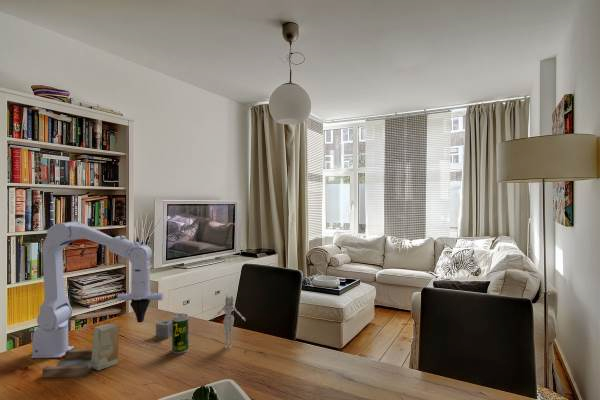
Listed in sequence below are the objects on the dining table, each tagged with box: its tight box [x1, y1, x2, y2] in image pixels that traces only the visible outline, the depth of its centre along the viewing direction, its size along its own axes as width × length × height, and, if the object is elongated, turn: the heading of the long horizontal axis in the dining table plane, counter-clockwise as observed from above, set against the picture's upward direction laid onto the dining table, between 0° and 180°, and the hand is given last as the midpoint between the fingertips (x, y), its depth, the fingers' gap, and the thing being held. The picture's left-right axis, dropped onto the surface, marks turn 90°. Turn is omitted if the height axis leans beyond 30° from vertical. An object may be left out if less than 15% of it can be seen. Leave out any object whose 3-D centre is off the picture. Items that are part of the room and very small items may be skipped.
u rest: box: [42, 348, 95, 378], centre depth 113 cm, size 12×13×2 cm
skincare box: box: [91, 322, 121, 371], centre depth 114 cm, size 6×4×12 cm
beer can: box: [171, 312, 190, 355], centre depth 125 cm, size 5×5×12 cm
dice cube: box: [155, 319, 172, 339], centre depth 138 cm, size 5×5×5 cm
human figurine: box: [212, 294, 246, 349], centre depth 129 cm, size 12×4×18 cm, turn 83°
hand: (140, 321), depth 123 cm, fingers closed
